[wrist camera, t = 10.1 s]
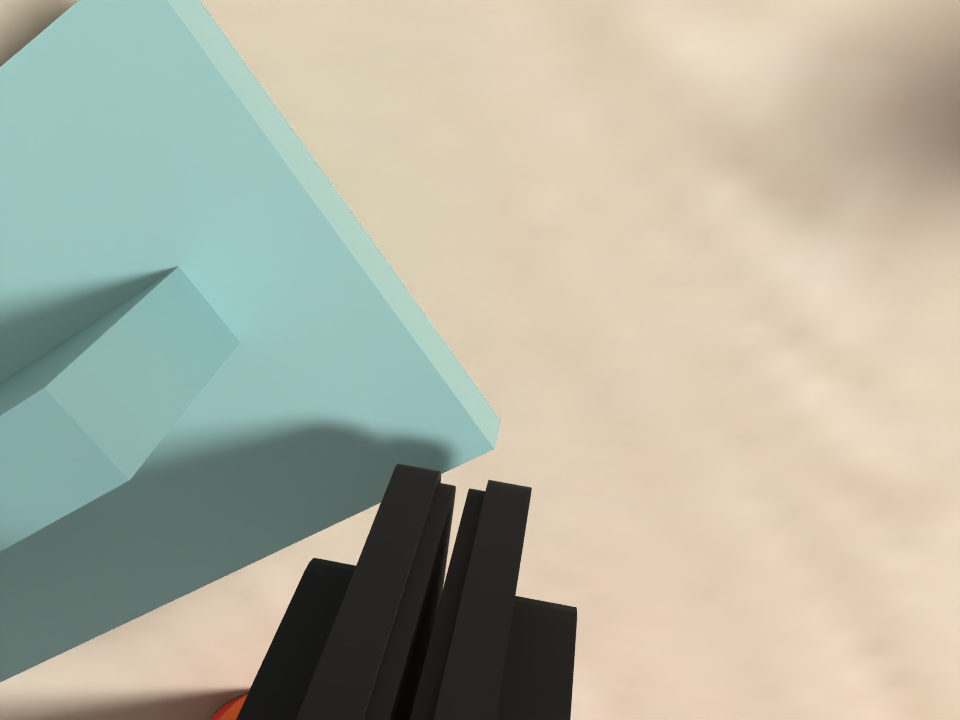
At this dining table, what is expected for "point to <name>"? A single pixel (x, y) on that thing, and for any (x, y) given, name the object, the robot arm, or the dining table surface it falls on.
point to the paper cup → (229, 709)
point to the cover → (185, 331)
